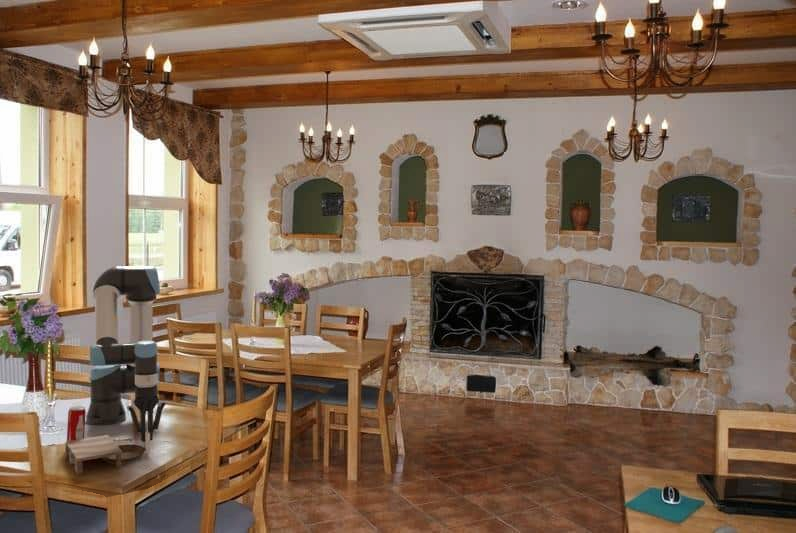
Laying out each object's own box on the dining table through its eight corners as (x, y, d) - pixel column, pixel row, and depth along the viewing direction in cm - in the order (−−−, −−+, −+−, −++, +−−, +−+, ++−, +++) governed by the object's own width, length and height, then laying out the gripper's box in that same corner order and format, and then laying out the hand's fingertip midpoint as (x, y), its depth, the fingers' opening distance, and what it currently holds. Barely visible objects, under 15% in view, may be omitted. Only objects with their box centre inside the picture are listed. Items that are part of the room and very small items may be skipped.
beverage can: (66, 446, 252) (66, 406, 251) (86, 444, 254) (85, 405, 253) (66, 452, 246) (65, 410, 245) (85, 450, 249) (85, 409, 248)
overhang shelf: (65, 458, 240) (65, 441, 240) (108, 451, 248) (108, 434, 248) (77, 477, 224) (77, 459, 223) (122, 468, 232) (122, 451, 231)
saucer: (142, 465, 236) (141, 457, 236) (95, 467, 233) (95, 459, 233) (148, 450, 250) (148, 443, 250) (105, 452, 247) (105, 445, 247)
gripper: (129, 389, 238) (130, 456, 239) (168, 384, 245) (168, 449, 247) (124, 385, 244) (125, 450, 245) (161, 380, 251) (162, 443, 253)
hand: (146, 449), depth 246 cm, fingers closed
